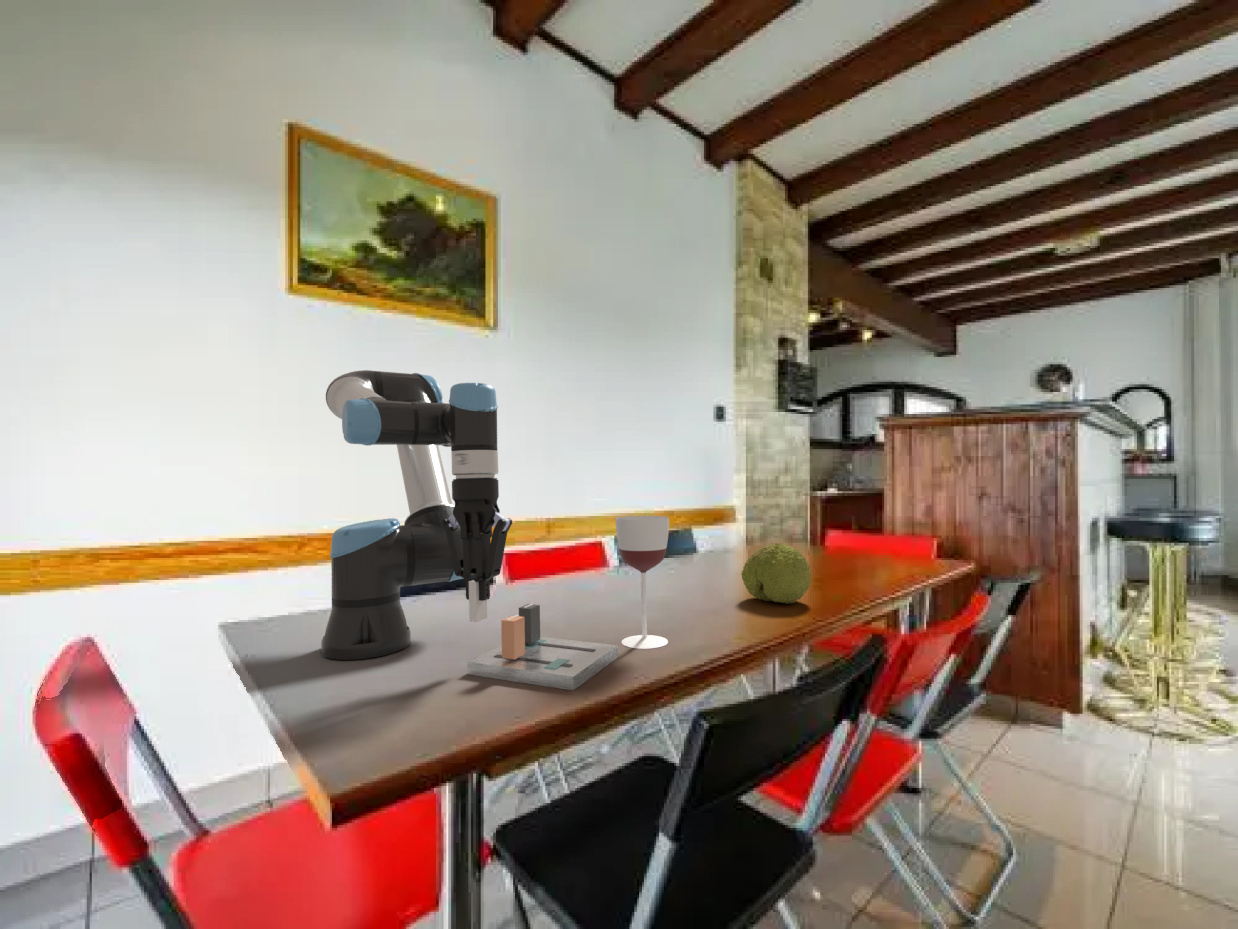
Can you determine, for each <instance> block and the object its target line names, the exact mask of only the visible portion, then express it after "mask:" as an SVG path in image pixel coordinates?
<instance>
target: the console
mask: <svg viewBox="0 0 1238 929" xmlns="http://www.w3.org/2000/svg"><path fill="white" fill-rule="evenodd" d="M617 658H619V645H616V644H608V643H601V642H600V643H599V642H590V641H582V640H575V639H574V640H573V639H572V640H571V639H565V638H564V639H563V638H555V637H545V636H540V640H538V641H536V642H534V643H532V644H527V643H525V654H524V655H522V656H520V657H518V658H517V659H515V660H514V659H507V658H502V644H501V645H499V646H497V647H496V648H493V649H491V650H489V651H488V652H485V653H483V654H480V655H479V656H477V657H475V658H473V659H470V660H468V661H467V662H466V663H467V675H469V676H474V677H475V676H476V677H483V678H488V679H496V680H501V681H502V680H503V681H509V682H514V683H522V684H528V685H533V686H541V687H547V688H555V689H561V690H565V691H568V690H569V691H575V690H576V689H578V688H579V687H581V686H582V685H583V684H584V683H586V682H587V681H588V680H590V679H591V678H593V677H594V676H595V675H596V674H597V673H599V672H600V671H601V670H603V669H604V668H606V667H607V666H608V665H610V664H612V662H614V661H615V660H617Z"/></svg>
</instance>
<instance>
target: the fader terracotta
mask: <svg viewBox="0 0 1238 929" xmlns="http://www.w3.org/2000/svg"><path fill="white" fill-rule="evenodd" d="M500 626H501V628H500V630H501V631H500V632H501V645H502V658H507V659H514V660H515V659H517V658H518V657H520V656H522V655H524V654H525V619H524V617H521V616H519V614H516V615H510V616H508V617H506V618H505V617H504V618H503V619H501V623H500Z"/></svg>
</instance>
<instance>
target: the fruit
mask: <svg viewBox="0 0 1238 929" xmlns="http://www.w3.org/2000/svg"><path fill="white" fill-rule="evenodd" d="M811 575H812V573H811V569H810V565H809V561H807V559H806V557H805V556H804V555H803V554H802V552H800V551H799V550H798V549H797V548H796V547H792V546H789V545H787V544H784V543H774V544H768V545H766V546H763V547H759V548H758V549H757V550H756V549H755V551H753V553H752V554H751V555H750V556H749V557H748V558H747V559H746V562H745V563H744V565H743V569H742V570H741V574H740V576H741V579H742V581H743V585H744V586H745V589H746V590H747V592H748V593H749V594H750V595H751V596H752V597H754V598H756V599H758V600H763V601H765V602H774V603H781V604H787V605H788V604H793V603H796V602H797V601H798V600H800V599H801V598H802V597H804V595H806V593H807V591H808V590H809V588H810V586H811V582H812V581H811V580H812V579H811Z"/></svg>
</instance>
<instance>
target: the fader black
mask: <svg viewBox="0 0 1238 929" xmlns="http://www.w3.org/2000/svg"><path fill="white" fill-rule="evenodd" d="M540 606H541V605H540V604H535V602H534V603H531V604H530V603H527V604H524V605H523V606H520V607H518V615H519V616H521V617H524V619H525V643H527V644H532V643H534V642H536V641H538V640H540V637H541V613H540V612H541V607H540Z"/></svg>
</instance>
